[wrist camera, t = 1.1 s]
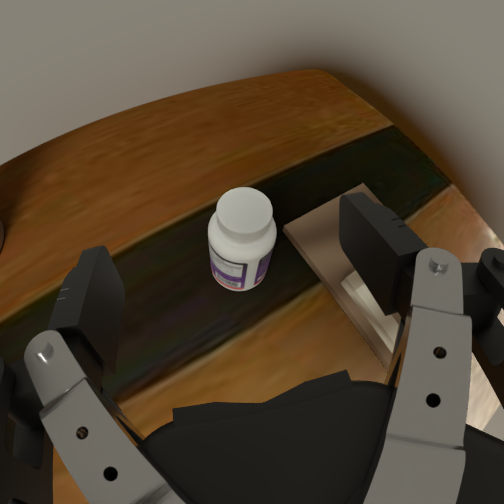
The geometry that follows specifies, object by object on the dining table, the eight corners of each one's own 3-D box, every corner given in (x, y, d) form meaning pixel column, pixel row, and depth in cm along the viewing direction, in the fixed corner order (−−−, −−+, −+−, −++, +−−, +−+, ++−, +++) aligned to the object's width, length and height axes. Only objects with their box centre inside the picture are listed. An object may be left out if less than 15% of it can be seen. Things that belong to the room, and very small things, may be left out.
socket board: (282, 230, 33) (286, 217, 31) (360, 188, 37) (367, 175, 35) (388, 372, 27) (401, 369, 25) (454, 304, 31) (466, 297, 29)
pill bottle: (253, 234, 33) (264, 171, 24) (275, 281, 31) (296, 228, 22) (202, 251, 32) (196, 190, 23) (222, 300, 30) (221, 252, 21)
